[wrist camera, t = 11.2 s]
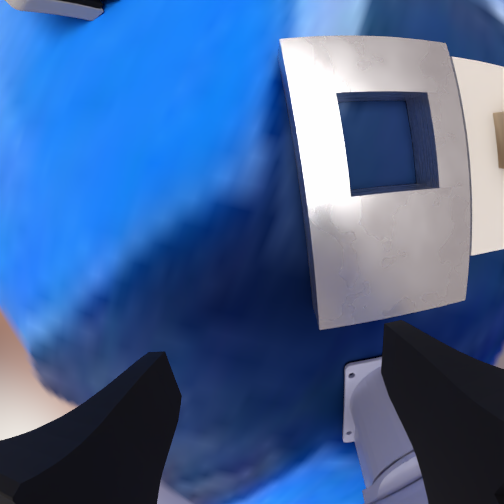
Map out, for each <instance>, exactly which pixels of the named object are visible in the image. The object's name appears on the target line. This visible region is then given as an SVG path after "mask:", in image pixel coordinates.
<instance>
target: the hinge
mask: <svg viewBox="0 0 504 504" xmlns="http://www.w3.org/2000/svg"><path fill="white" fill-rule="evenodd" d="M5 1H6V2H7V3H8V4H9V5H11V6H12V7H13V8H15V9H17V10H20V11H29V12H39V13H47V14H55V15H62V16H68V17H74V18H80V19H85V20H90V21H92V20H94V19H96V18H97V17H98V16H99V15H100V14H102V13H103V12H104V11H103V9H102V8H101V7H102V6H103V3H102V2H101V1H100V0H5Z"/></svg>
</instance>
